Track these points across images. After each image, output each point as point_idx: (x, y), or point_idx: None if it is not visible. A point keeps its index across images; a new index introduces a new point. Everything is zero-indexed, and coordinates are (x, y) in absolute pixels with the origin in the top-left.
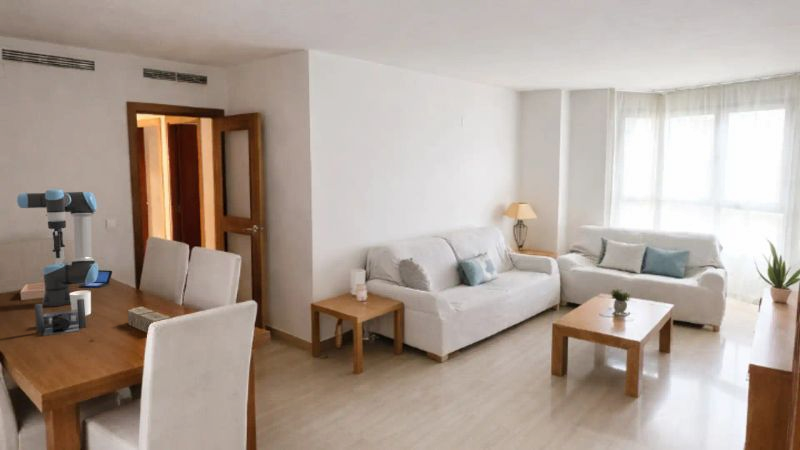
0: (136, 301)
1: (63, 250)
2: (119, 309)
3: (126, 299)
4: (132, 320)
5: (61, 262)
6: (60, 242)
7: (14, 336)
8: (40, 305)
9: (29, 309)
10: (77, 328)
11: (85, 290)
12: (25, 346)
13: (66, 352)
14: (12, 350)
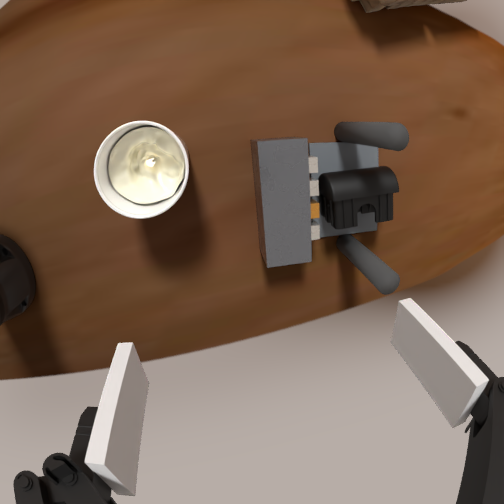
0: (53, 16)
1: (110, 427)
2: (141, 39)
3: (12, 61)
4: (397, 3)
5: (418, 309)
6: (486, 496)
7: (340, 297)
8: (396, 273)
9: (56, 332)
10: (358, 145)
11: (97, 156)
12: (431, 249)
13: (495, 163)
14: (439, 266)
